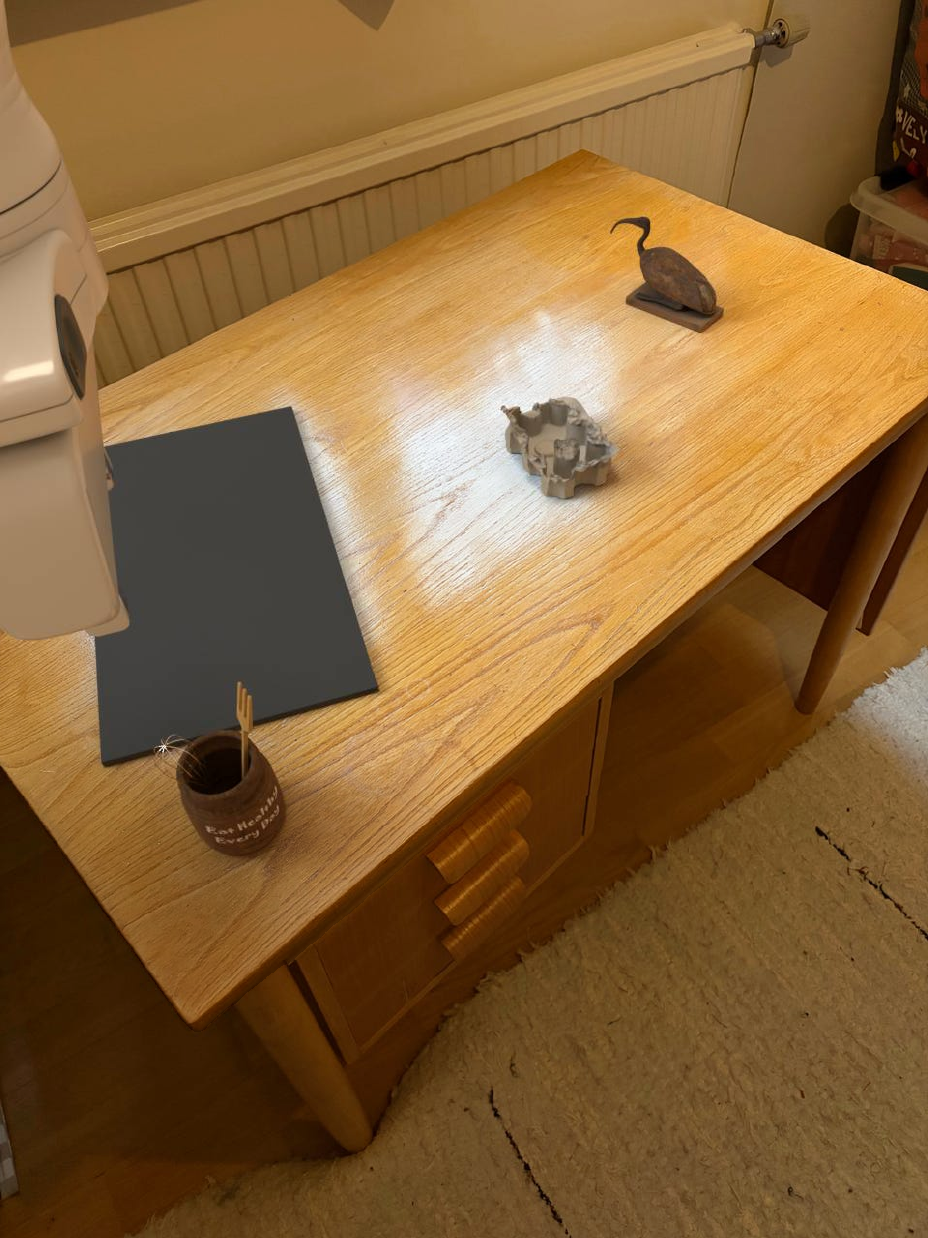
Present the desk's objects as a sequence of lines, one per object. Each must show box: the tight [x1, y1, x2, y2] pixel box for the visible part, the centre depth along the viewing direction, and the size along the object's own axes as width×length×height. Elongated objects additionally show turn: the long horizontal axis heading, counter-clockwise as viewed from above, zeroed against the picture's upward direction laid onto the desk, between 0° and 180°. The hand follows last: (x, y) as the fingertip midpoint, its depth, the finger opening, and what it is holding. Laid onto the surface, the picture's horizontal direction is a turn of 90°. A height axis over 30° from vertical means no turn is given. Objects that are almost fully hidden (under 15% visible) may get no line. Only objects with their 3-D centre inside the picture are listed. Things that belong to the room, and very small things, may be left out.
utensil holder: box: [154, 682, 286, 856], centre depth 54 cm, size 6×6×12 cm
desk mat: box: [94, 405, 380, 768], centre depth 74 cm, size 20×36×1 cm, turn 17°
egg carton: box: [500, 396, 621, 499], centre depth 79 cm, size 11×8×4 cm
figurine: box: [609, 216, 725, 333], centre depth 94 cm, size 14×4×9 cm, turn 49°
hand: (103, 548), depth 41 cm, fingers open, 8 cm apart
